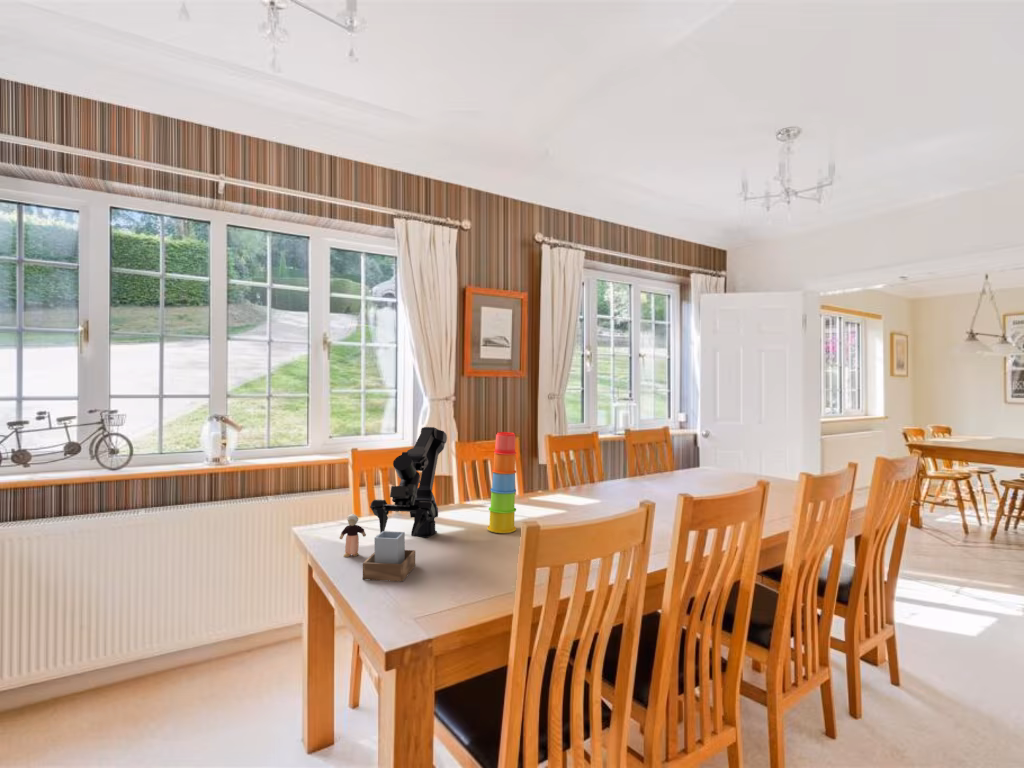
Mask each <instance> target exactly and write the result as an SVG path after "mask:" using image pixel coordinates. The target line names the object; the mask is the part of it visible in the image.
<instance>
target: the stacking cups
mask: <svg viewBox="0 0 1024 768" xmlns="http://www.w3.org/2000/svg"><path fill="white" fill-rule="evenodd" d="M494 447H495V448H494V451H493V453H494V455H493V456H494V458H493V469H491V472H492V482H491V483H492V485H491V488H490V492H491V495H490V507H488V511H489V525H488V526H487V531H489V532H491V533H496V534H511V533H514V532H515V531H516V530H517V527H516V526H515V512H516V511H517V508H515V503H516V502H515V499H516V498H515V495H516V492H517V489H516V488H515V487H516V486H515V485H516V484H515V483H516V473H517V470H516V455H517V452H516V434H515V433H514V432H509V431H508V432H507V431H499V432H498V431H497V434H495V446H494Z"/></svg>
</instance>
